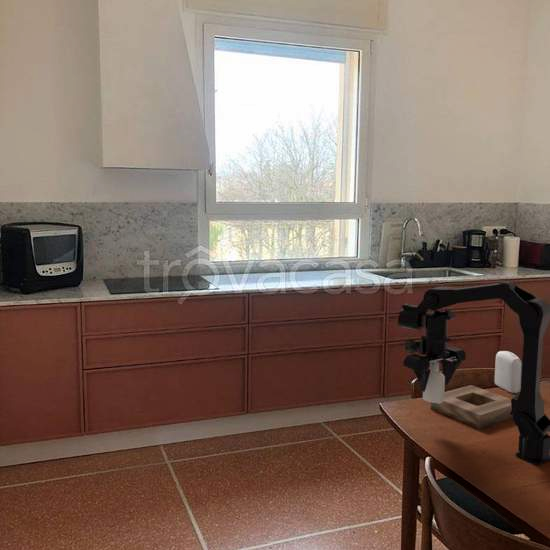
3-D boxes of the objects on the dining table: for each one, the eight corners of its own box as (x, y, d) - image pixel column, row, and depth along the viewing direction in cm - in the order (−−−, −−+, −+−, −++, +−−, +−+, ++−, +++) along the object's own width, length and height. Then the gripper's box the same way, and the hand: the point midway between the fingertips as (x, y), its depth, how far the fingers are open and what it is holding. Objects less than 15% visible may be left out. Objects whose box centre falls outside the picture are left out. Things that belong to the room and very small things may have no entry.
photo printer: (492, 383, 203) (494, 348, 202) (503, 382, 204) (505, 347, 202) (510, 394, 194) (512, 357, 192) (522, 393, 194) (524, 356, 193)
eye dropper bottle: (433, 396, 168) (434, 355, 167) (446, 402, 163) (448, 360, 162) (420, 398, 167) (421, 357, 165) (433, 405, 162) (435, 362, 160)
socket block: (519, 415, 176) (520, 402, 175) (479, 428, 166) (480, 415, 166) (470, 397, 191) (470, 385, 190) (430, 408, 181) (431, 395, 181)
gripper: (437, 322, 174) (435, 374, 176) (389, 331, 164) (388, 386, 166) (468, 330, 164) (465, 385, 167) (420, 340, 155) (417, 398, 157)
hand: (433, 388), depth 164 cm, fingers closed on eye dropper bottle, 8 cm apart
